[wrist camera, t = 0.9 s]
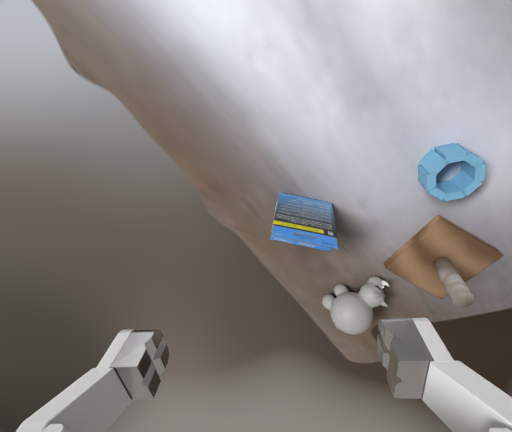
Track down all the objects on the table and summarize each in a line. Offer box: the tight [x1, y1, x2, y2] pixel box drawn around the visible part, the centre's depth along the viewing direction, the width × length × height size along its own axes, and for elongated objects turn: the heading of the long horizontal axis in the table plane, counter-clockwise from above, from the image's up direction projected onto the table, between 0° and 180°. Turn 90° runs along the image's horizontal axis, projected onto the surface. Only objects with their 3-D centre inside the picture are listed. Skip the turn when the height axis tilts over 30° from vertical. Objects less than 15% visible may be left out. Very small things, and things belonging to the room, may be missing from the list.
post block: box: [384, 215, 503, 307], centre depth 43 cm, size 12×12×10 cm
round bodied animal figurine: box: [322, 276, 389, 334], centre depth 50 cm, size 7×12×8 cm, turn 130°
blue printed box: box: [271, 192, 339, 251], centre depth 41 cm, size 9×4×12 cm, turn 82°
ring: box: [418, 143, 486, 201], centre depth 38 cm, size 7×7×4 cm
